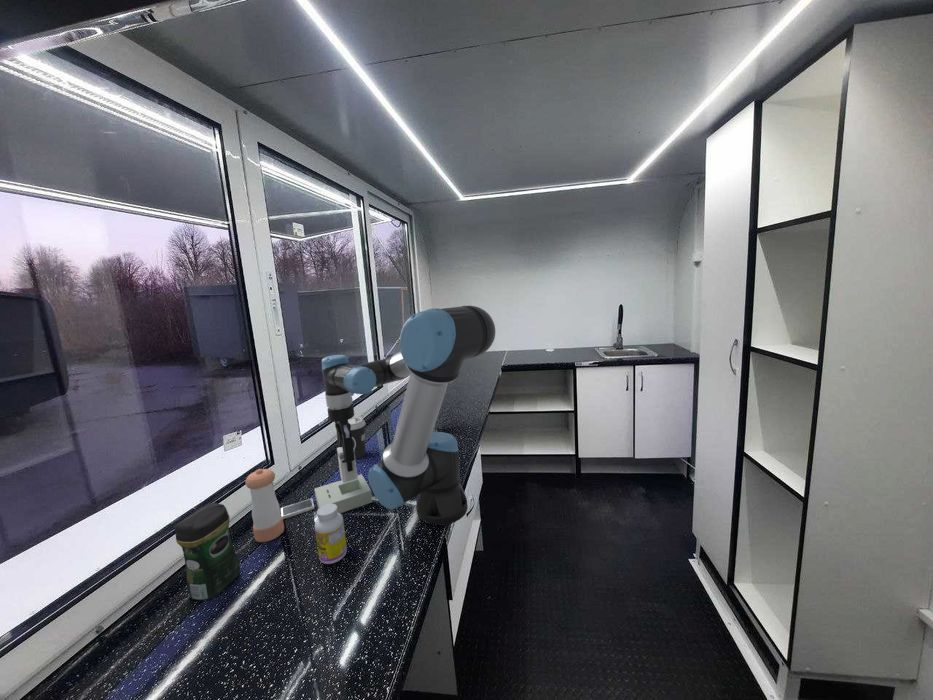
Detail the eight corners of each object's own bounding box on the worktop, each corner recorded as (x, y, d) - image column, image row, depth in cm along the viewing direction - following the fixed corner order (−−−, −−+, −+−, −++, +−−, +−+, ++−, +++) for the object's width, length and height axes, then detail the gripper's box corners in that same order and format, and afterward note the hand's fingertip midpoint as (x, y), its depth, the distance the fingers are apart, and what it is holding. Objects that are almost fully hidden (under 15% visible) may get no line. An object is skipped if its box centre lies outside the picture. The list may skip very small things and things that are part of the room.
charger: (358, 478, 110) (354, 449, 109) (343, 483, 108) (339, 453, 106) (354, 472, 114) (351, 444, 113) (340, 477, 112) (336, 447, 110)
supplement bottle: (315, 555, 89) (308, 508, 86) (341, 541, 93) (335, 497, 91) (324, 570, 83) (317, 521, 81) (351, 555, 88) (345, 509, 85)
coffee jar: (220, 566, 87) (207, 497, 83) (247, 570, 85) (234, 500, 82) (181, 600, 77) (164, 524, 74) (209, 605, 75) (193, 528, 72)
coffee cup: (365, 460, 137) (360, 424, 135) (340, 461, 138) (336, 425, 135) (371, 449, 147) (368, 415, 144) (349, 450, 147) (345, 416, 145)
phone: (314, 508, 108) (314, 505, 108) (281, 519, 104) (281, 516, 103) (312, 501, 112) (312, 497, 112) (281, 511, 108) (280, 507, 108)
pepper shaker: (251, 545, 94) (239, 478, 90) (259, 527, 100) (248, 465, 97) (280, 538, 95) (270, 473, 92) (286, 522, 102) (277, 461, 99)
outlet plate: (321, 519, 102) (319, 507, 102) (315, 499, 113) (314, 488, 112) (372, 502, 110) (371, 490, 109) (362, 484, 120) (361, 473, 119)
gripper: (359, 410, 101) (368, 484, 105) (346, 396, 116) (354, 461, 120) (332, 416, 98) (342, 492, 102) (322, 401, 113) (331, 468, 117)
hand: (349, 475), depth 111 cm, fingers closed on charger, 4 cm apart
